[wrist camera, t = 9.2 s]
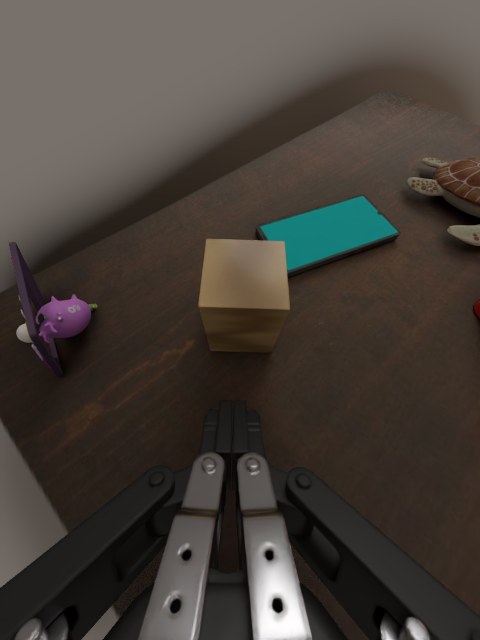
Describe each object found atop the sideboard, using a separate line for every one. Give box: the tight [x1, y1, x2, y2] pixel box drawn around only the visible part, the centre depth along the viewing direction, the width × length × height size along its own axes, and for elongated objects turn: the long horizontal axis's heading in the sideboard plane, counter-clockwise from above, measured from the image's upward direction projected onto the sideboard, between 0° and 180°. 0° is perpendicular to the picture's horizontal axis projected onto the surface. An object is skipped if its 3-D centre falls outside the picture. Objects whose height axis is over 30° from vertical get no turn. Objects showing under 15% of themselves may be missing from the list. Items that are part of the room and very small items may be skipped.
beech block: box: [198, 239, 290, 353], centre depth 19 cm, size 6×6×8 cm
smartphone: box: [256, 195, 400, 277], centre depth 27 cm, size 7×1×15 cm
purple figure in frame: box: [9, 242, 97, 377], centre depth 20 cm, size 7×5×9 cm
